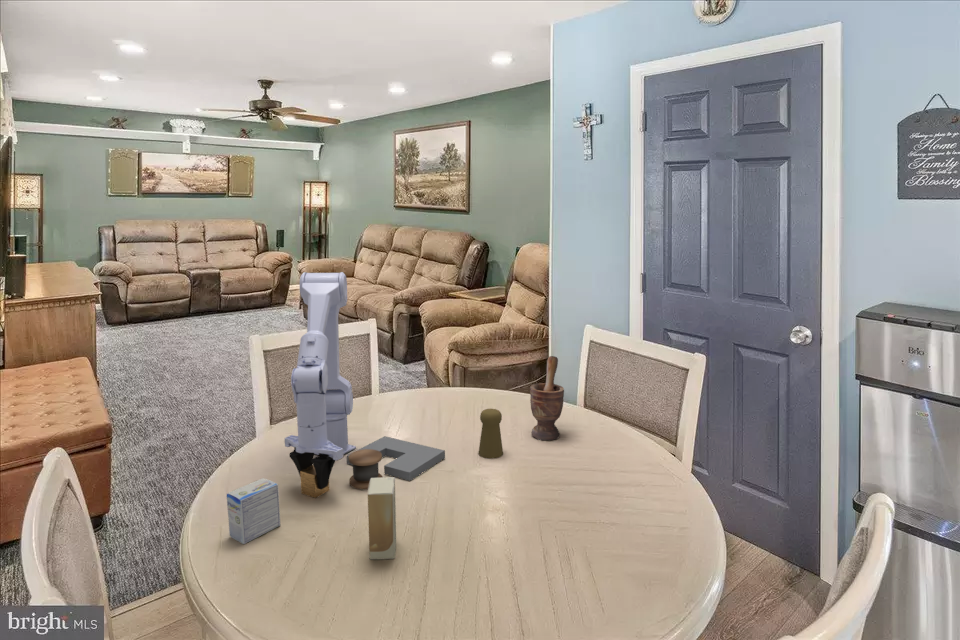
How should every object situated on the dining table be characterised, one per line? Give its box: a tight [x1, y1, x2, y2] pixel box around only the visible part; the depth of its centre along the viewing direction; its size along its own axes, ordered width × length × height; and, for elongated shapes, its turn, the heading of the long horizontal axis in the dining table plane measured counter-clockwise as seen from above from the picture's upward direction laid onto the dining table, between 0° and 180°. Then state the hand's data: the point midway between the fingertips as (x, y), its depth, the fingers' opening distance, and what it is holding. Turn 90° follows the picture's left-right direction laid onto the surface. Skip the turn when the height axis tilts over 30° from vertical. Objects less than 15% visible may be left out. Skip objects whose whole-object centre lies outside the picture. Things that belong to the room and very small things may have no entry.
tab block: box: [299, 465, 330, 499], centre depth 125 cm, size 4×4×5 cm
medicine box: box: [226, 477, 281, 545], centre depth 109 cm, size 8×4×9 cm, turn 145°
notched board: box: [346, 436, 446, 482], centre depth 141 cm, size 18×14×2 cm
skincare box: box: [367, 476, 397, 560], centre depth 103 cm, size 6×4×12 cm
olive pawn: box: [477, 408, 504, 460], centre depth 144 cm, size 6×6×11 cm
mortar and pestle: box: [529, 355, 565, 441], centre depth 157 cm, size 12×9×20 cm
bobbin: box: [348, 449, 383, 490], centre depth 130 cm, size 7×7×6 cm
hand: (315, 484), depth 125 cm, fingers closed on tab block, 4 cm apart
